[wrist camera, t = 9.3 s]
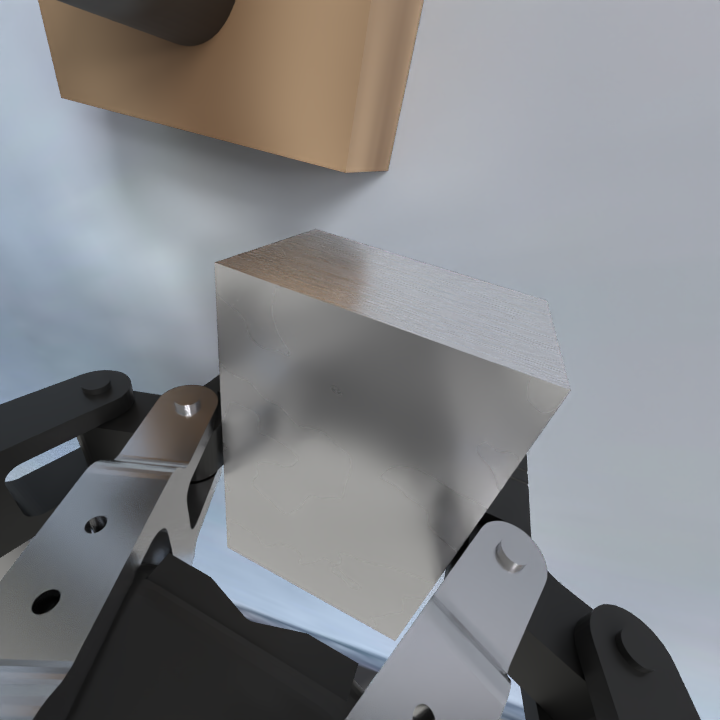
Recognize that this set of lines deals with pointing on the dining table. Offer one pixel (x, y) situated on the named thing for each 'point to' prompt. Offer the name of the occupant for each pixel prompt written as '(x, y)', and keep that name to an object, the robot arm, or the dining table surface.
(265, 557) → the lever cap
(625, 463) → the dining table surface
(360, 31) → the body
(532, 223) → the dining table surface
